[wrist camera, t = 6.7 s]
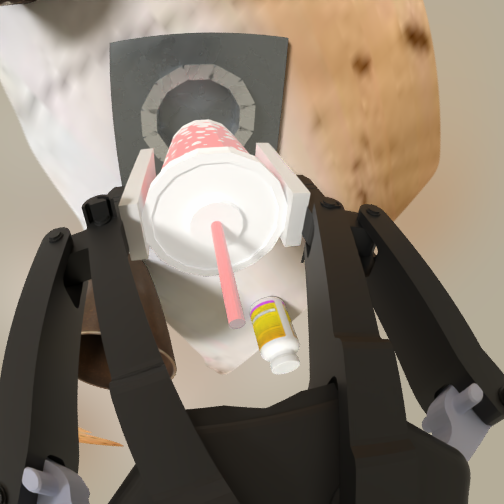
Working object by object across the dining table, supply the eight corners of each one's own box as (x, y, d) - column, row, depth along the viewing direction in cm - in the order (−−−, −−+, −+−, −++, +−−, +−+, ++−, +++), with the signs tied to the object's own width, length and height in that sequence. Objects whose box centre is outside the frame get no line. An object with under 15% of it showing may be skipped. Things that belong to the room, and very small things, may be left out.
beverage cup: (188, 91, 15) (192, 185, 5) (263, 137, 18) (375, 282, 8) (143, 168, 18) (103, 351, 7) (215, 202, 21) (257, 379, 11)
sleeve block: (112, 43, 19) (102, 42, 17) (285, 38, 23) (297, 37, 20) (125, 191, 31) (120, 206, 28) (270, 181, 34) (278, 194, 32)
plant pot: (172, 304, 45) (178, 392, 33) (89, 302, 41) (76, 388, 29) (172, 231, 36) (174, 334, 24) (69, 230, 32) (32, 327, 20)
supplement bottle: (241, 314, 51) (257, 376, 41) (262, 291, 48) (282, 356, 38) (270, 320, 54) (288, 377, 45) (291, 299, 51) (314, 359, 42)
